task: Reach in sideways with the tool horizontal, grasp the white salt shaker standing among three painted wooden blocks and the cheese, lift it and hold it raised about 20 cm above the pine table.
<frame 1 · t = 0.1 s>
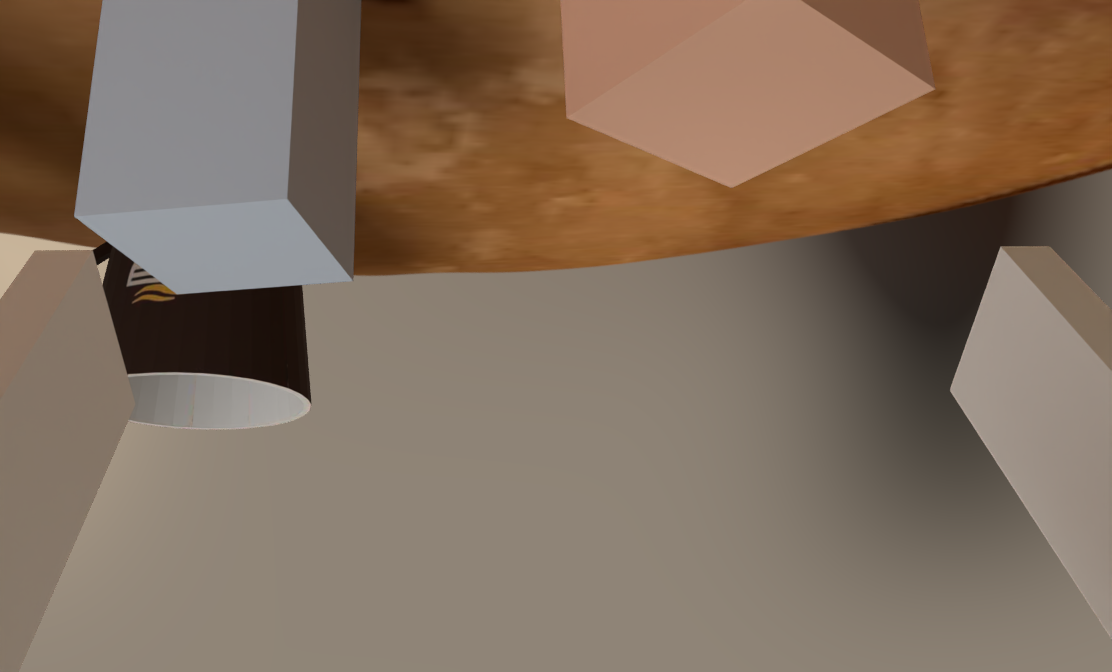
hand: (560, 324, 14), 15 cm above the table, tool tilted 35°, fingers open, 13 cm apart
coffee mug: (178, 164, 40), on the table
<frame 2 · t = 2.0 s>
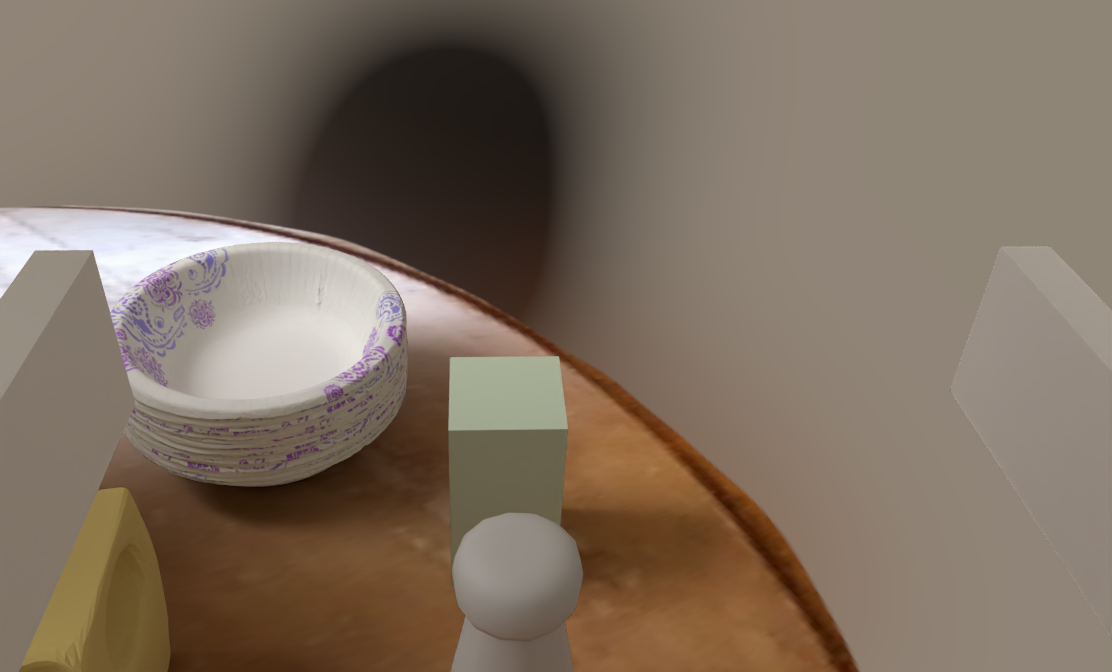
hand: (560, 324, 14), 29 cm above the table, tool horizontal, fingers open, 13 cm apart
paper bowls: (276, 430, 54), on the table
sage block: (502, 545, 48), on the table
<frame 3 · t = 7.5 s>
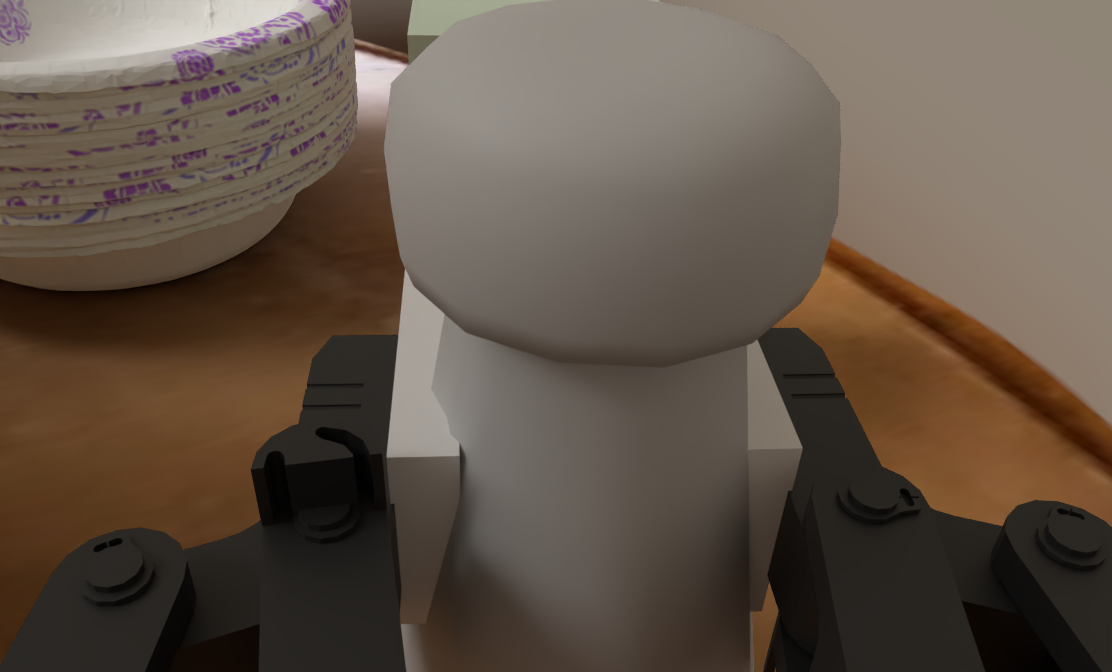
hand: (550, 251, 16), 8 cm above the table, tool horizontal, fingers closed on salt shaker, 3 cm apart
paper bowls: (136, 223, 32), on the table
sage block: (527, 381, 25), on the table
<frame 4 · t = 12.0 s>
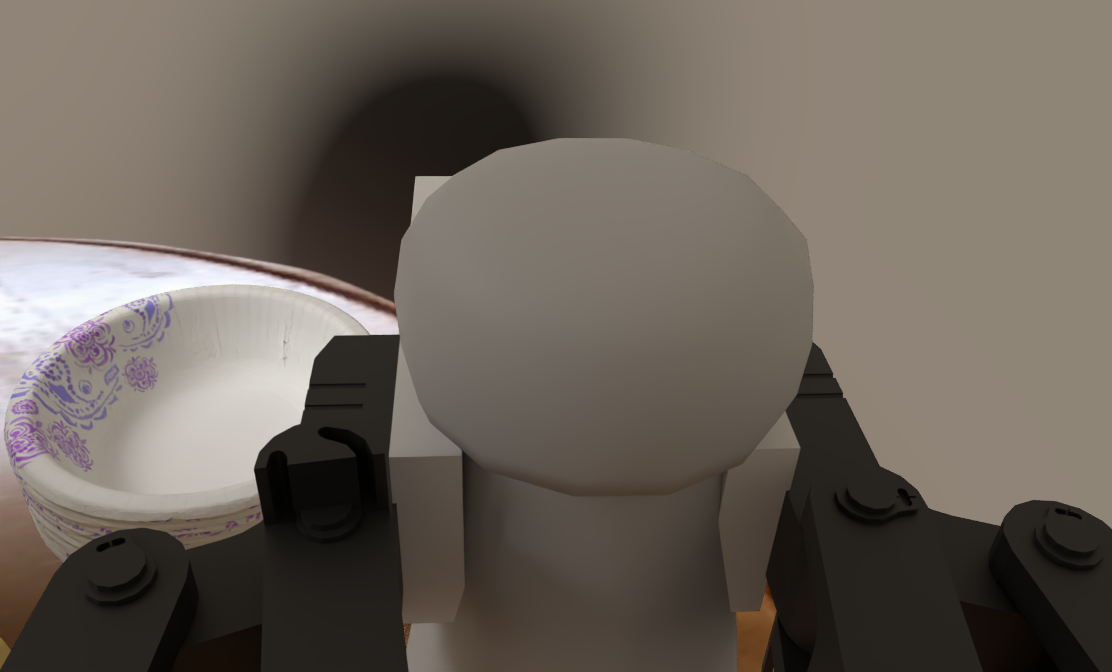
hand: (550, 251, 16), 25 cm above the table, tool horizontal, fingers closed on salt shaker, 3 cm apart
paper bowls: (232, 513, 45), on the table
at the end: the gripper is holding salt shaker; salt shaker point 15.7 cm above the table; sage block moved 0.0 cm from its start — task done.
